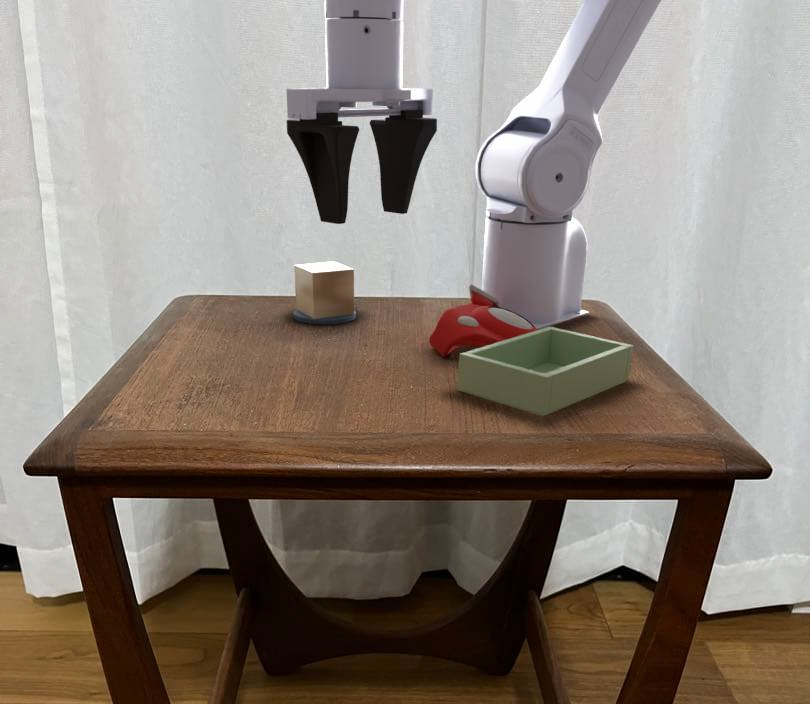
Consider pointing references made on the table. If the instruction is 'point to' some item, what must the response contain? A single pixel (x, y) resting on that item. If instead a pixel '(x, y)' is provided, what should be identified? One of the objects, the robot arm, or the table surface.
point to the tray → (544, 369)
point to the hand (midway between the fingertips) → (365, 217)
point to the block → (324, 289)
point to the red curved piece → (477, 324)
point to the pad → (323, 319)
